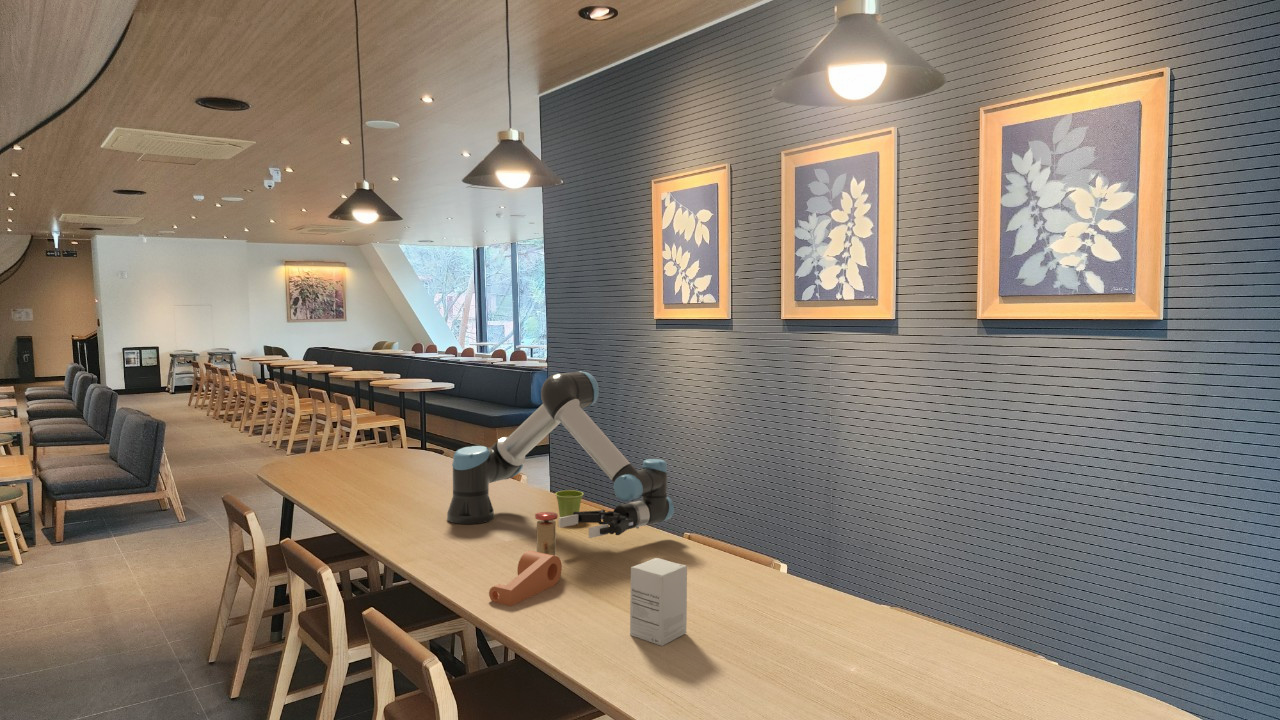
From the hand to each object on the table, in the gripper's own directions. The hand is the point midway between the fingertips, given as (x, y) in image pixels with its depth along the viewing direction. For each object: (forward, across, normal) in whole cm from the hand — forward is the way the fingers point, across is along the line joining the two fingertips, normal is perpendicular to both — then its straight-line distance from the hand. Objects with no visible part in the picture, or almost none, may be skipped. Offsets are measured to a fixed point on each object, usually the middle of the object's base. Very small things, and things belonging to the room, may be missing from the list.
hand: (574, 527), depth 218 cm
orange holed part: (+25, -12, -9) cm, 29 cm away
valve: (+10, 0, -9) cm, 13 cm away
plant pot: (-25, +35, -9) cm, 44 cm away
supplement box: (+18, -53, -9) cm, 57 cm away
